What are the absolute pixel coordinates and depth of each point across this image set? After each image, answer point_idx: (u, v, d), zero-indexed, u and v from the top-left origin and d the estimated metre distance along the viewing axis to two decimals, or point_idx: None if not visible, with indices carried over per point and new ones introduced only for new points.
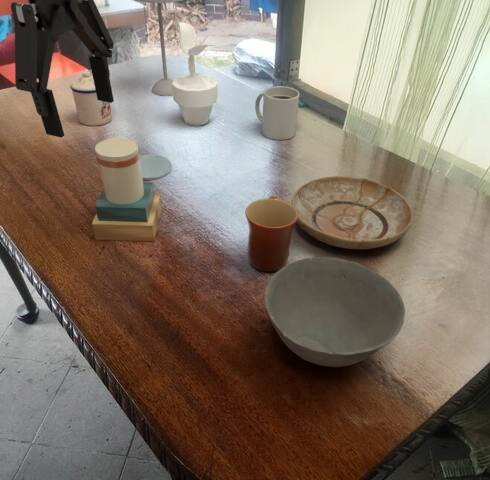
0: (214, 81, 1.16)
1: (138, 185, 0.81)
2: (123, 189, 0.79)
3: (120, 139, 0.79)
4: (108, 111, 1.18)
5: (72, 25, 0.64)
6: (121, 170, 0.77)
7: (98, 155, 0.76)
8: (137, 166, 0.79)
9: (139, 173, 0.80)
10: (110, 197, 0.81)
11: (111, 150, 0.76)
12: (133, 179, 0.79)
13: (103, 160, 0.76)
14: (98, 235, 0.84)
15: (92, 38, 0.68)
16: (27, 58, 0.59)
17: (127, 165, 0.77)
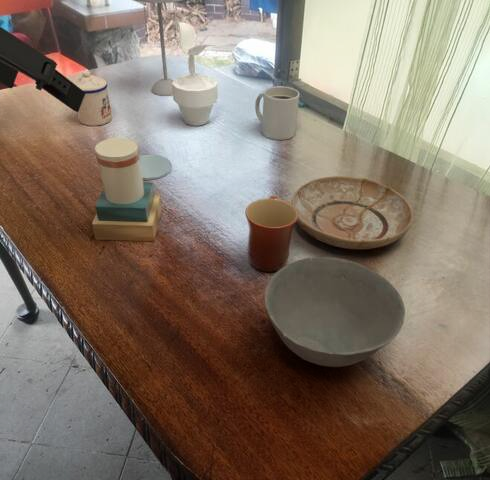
0: (214, 81, 1.16)
1: (138, 185, 0.81)
2: (123, 189, 0.79)
3: (120, 139, 0.79)
4: (108, 111, 1.18)
5: None
6: (121, 170, 0.77)
7: (98, 155, 0.76)
8: (137, 166, 0.79)
9: (139, 173, 0.80)
10: (110, 197, 0.81)
11: (111, 150, 0.76)
12: (133, 179, 0.79)
13: (103, 160, 0.76)
14: (98, 235, 0.84)
15: (3, 62, 0.52)
16: None
17: (127, 165, 0.77)
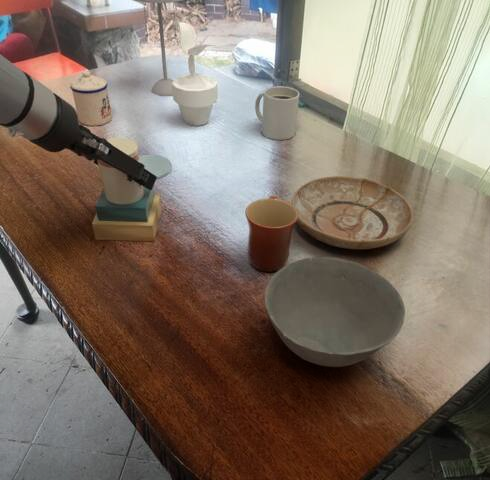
0: (214, 81, 1.16)
1: (138, 185, 0.81)
2: (123, 189, 0.79)
3: (120, 139, 0.79)
4: (108, 111, 1.18)
5: None
6: None
7: None
8: None
9: None
10: (110, 197, 0.81)
11: None
12: None
13: None
14: (98, 235, 0.84)
15: None
16: None
17: None
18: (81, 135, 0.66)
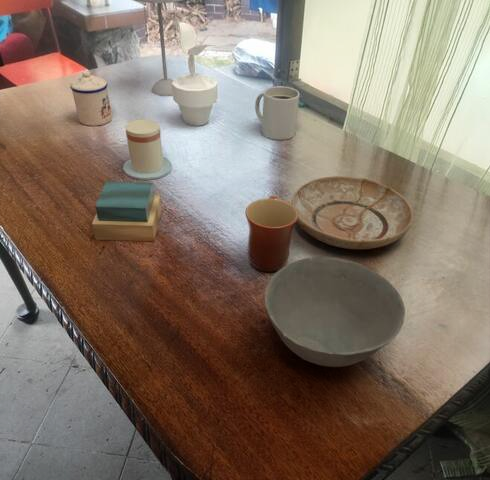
0: (214, 81, 1.16)
1: (159, 157, 1.00)
2: (147, 160, 0.99)
3: (145, 120, 0.99)
4: (108, 111, 1.18)
5: None
6: (146, 144, 0.96)
7: (128, 132, 0.95)
8: (158, 142, 0.98)
9: (160, 148, 1.00)
10: (136, 167, 1.01)
11: (138, 128, 0.96)
12: (155, 152, 0.99)
13: (132, 136, 0.95)
14: (98, 235, 0.84)
15: None
16: None
17: (151, 140, 0.96)
18: None
